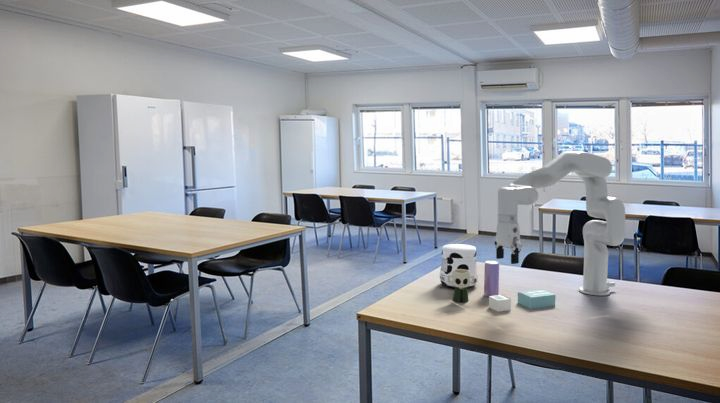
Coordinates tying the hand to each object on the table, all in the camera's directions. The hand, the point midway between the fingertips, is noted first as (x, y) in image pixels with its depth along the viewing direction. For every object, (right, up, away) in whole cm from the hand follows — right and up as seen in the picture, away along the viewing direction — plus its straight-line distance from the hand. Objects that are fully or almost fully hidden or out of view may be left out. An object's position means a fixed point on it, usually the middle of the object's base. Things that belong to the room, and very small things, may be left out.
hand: (507, 260), depth 214 cm
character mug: (-17, -18, +8) cm, 26 cm away
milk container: (-13, -15, +33) cm, 39 cm away
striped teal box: (+13, -18, +3) cm, 22 cm away
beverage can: (-3, -17, +16) cm, 23 cm away
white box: (-4, -18, -3) cm, 19 cm away
